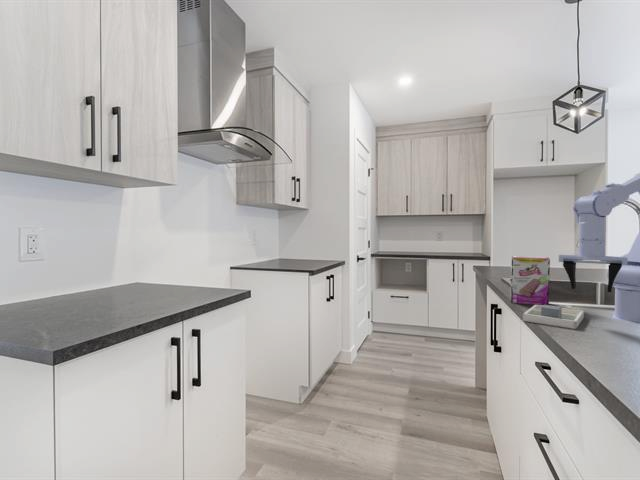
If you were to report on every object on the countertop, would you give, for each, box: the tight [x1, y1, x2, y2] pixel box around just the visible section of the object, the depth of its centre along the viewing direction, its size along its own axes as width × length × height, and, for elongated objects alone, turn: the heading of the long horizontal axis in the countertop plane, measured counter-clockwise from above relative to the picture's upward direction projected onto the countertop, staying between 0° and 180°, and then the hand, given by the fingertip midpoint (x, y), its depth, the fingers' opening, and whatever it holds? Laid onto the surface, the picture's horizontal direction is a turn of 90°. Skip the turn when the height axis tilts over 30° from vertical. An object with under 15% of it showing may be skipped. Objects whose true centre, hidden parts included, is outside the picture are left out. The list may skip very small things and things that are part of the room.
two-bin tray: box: [522, 305, 585, 330], centre depth 97 cm, size 15×12×2 cm
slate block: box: [541, 305, 562, 319], centre depth 95 cm, size 4×4×4 cm
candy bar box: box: [510, 255, 551, 306], centre depth 117 cm, size 11×5×16 cm, turn 62°
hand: (591, 289), depth 93 cm, fingers open, 7 cm apart
